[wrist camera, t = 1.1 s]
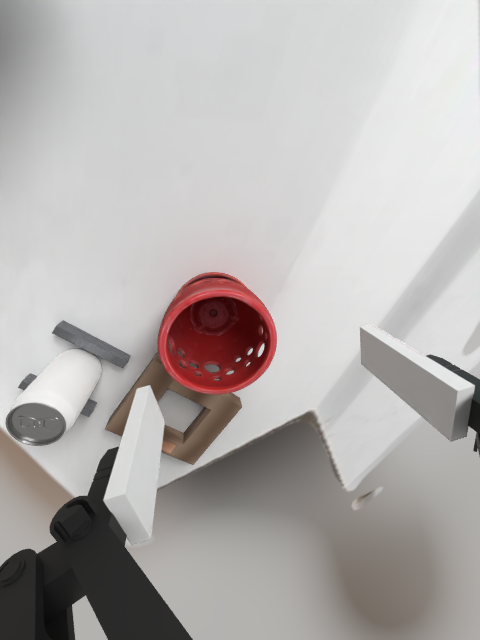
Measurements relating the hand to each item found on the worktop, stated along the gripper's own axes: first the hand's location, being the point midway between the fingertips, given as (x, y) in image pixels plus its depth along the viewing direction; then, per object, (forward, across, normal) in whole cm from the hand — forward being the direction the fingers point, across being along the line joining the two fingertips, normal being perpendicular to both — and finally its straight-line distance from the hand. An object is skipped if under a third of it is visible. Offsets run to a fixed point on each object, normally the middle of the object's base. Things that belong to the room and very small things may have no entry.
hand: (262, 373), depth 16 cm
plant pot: (+24, -2, -4) cm, 25 cm away
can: (+24, -23, -7) cm, 34 cm away
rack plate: (+24, -12, -19) cm, 33 cm away
